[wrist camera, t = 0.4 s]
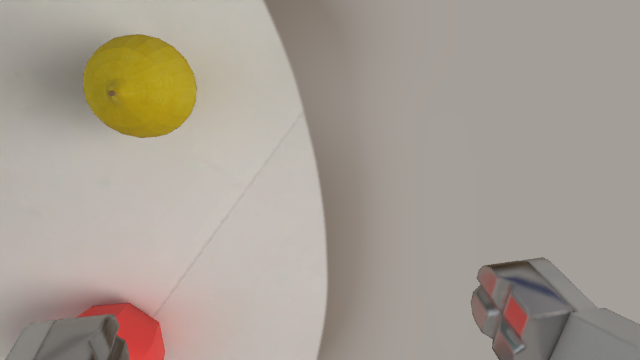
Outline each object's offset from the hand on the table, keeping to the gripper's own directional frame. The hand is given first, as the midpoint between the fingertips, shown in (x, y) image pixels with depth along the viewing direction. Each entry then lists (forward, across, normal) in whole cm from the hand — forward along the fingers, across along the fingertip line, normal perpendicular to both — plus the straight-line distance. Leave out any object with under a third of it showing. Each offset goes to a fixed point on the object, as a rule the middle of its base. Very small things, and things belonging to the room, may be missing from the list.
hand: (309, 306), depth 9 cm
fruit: (+20, +6, 0) cm, 22 cm away
